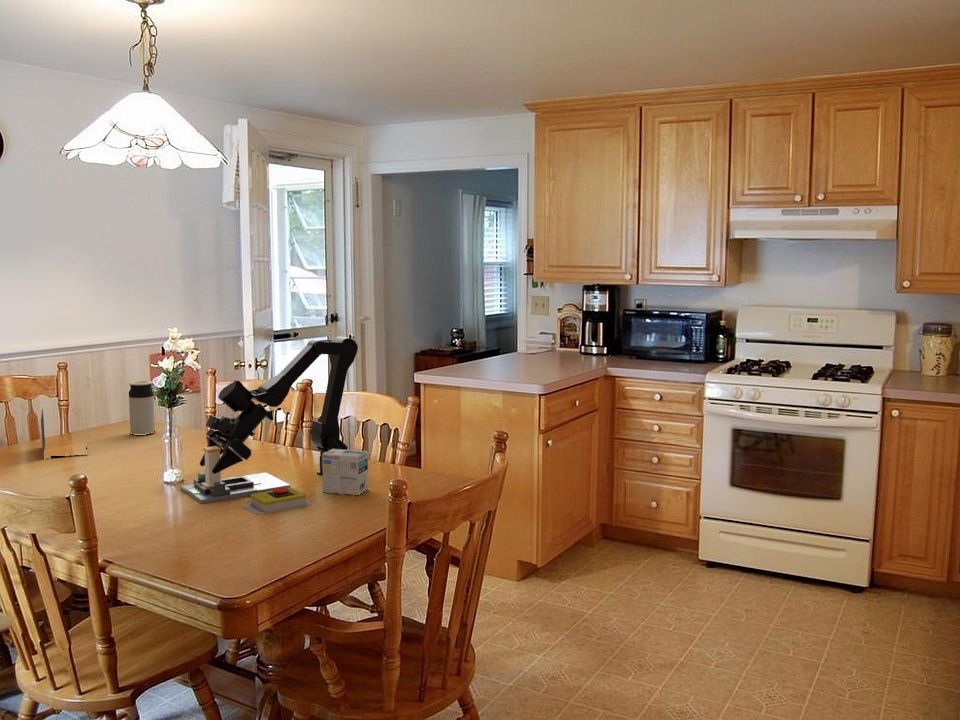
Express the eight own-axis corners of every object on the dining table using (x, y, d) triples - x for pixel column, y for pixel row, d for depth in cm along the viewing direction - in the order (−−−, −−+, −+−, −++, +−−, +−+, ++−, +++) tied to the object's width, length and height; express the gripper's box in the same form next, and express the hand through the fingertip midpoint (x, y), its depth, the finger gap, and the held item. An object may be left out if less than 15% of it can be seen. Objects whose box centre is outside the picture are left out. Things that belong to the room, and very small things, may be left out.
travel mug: (159, 431, 297) (157, 380, 295) (147, 436, 289) (145, 384, 287) (138, 430, 298) (136, 380, 296) (125, 435, 290) (123, 383, 288)
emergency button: (312, 489, 213) (256, 499, 204) (313, 506, 214) (256, 517, 205) (296, 481, 220) (240, 490, 211) (296, 497, 221) (241, 507, 212)
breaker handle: (219, 484, 226) (218, 445, 225) (225, 487, 223) (224, 448, 221) (201, 487, 223) (199, 447, 222) (206, 491, 220) (205, 450, 218)
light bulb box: (369, 489, 227) (369, 450, 226) (359, 496, 221) (359, 456, 220) (332, 486, 230) (332, 447, 229) (321, 493, 224) (321, 453, 222)
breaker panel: (266, 475, 240) (265, 462, 240) (290, 488, 228) (289, 474, 227) (180, 489, 226) (180, 474, 225) (201, 503, 213) (200, 488, 213)
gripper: (212, 398, 230) (172, 443, 225) (238, 409, 215) (196, 457, 210) (241, 424, 235) (203, 468, 230) (268, 435, 221) (228, 483, 216)
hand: (206, 469), depth 221 cm, fingers open, 9 cm apart
